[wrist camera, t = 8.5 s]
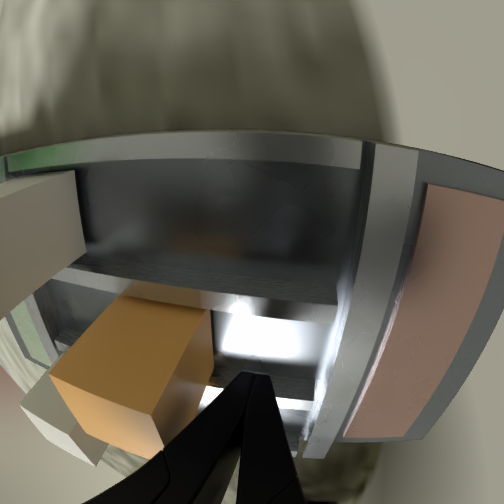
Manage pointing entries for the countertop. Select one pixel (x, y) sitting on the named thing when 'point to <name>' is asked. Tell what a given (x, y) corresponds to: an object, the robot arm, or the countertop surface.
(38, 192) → the block
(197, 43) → the countertop surface
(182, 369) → the block
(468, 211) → the panel
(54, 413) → the block
